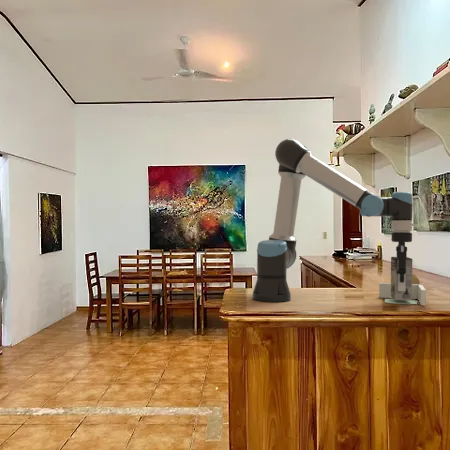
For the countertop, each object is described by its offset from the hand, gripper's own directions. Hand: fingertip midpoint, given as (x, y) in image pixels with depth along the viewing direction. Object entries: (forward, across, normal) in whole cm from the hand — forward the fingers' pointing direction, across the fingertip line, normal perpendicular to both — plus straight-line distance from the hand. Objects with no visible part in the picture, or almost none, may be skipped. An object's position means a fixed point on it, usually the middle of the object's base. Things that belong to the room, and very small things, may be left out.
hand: (401, 289), depth 188 cm
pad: (+5, 0, 0) cm, 5 cm away
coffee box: (+4, 0, 0) cm, 4 cm away
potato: (+5, +20, -3) cm, 21 cm away
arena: (+5, +2, 0) cm, 5 cm away
